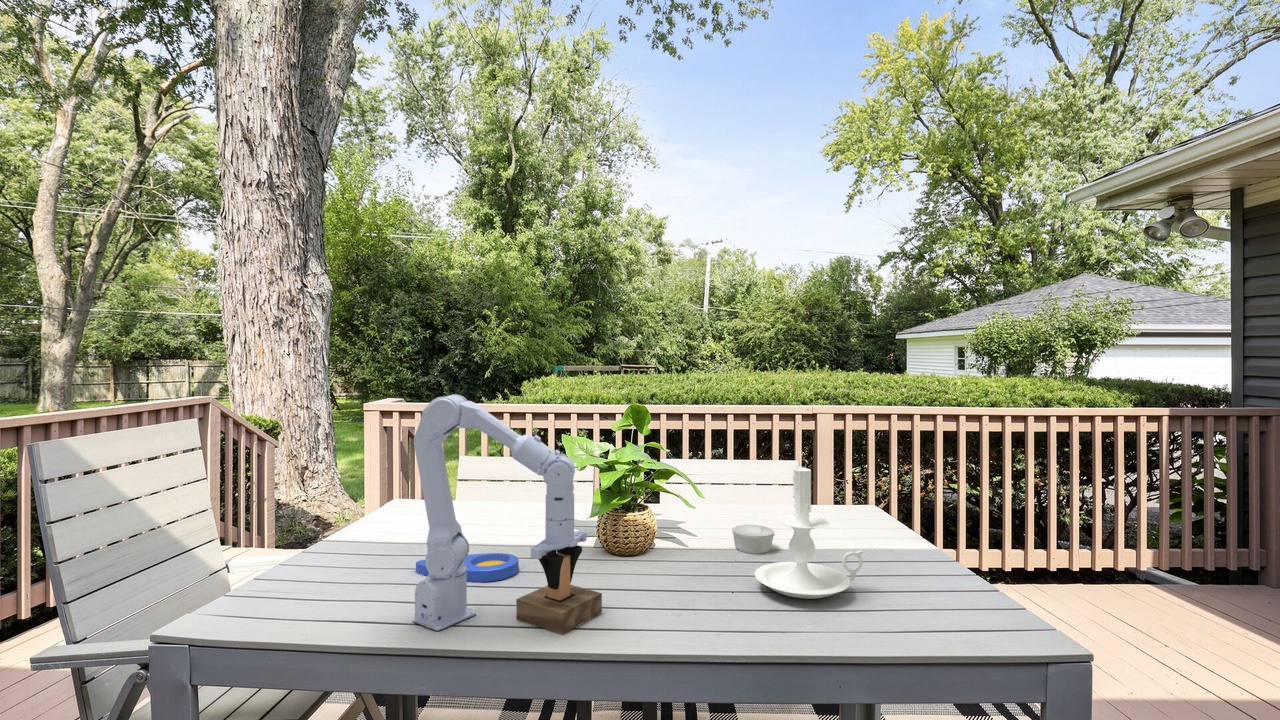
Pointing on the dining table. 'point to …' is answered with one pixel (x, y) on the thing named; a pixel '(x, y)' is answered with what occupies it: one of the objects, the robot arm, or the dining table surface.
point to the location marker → (484, 567)
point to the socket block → (558, 609)
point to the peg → (562, 581)
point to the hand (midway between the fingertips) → (559, 585)
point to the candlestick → (805, 553)
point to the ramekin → (753, 538)
